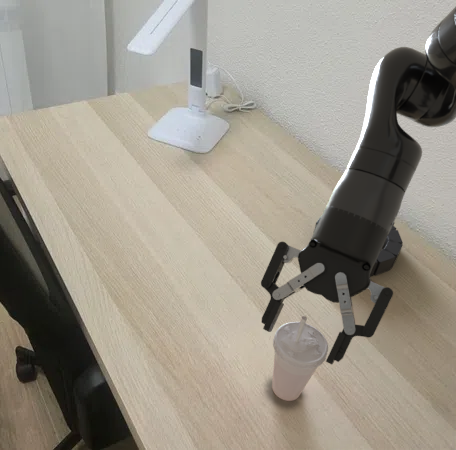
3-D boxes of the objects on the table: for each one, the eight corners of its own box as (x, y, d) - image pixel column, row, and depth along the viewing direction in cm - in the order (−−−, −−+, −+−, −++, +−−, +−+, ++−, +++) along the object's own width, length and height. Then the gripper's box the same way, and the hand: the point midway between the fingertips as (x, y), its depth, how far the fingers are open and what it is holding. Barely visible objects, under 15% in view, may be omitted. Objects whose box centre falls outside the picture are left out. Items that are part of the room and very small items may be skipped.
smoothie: (259, 366, 74) (277, 295, 65) (306, 368, 74) (331, 298, 65) (264, 409, 69) (284, 339, 60) (315, 411, 69) (343, 342, 60)
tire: (405, 240, 94) (411, 227, 92) (381, 288, 86) (387, 274, 84) (330, 210, 100) (334, 197, 98) (300, 252, 91) (303, 239, 89)
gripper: (295, 187, 63) (234, 317, 63) (423, 237, 57) (356, 380, 57) (304, 201, 70) (249, 318, 70) (419, 246, 64) (359, 374, 64)
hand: (297, 346), depth 64 cm, fingers open, 7 cm apart
